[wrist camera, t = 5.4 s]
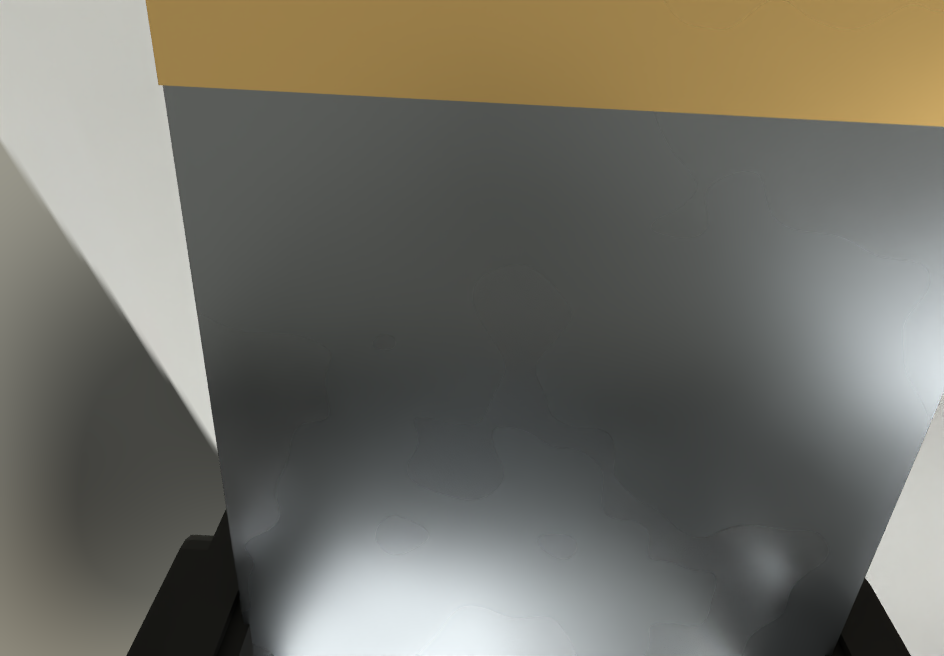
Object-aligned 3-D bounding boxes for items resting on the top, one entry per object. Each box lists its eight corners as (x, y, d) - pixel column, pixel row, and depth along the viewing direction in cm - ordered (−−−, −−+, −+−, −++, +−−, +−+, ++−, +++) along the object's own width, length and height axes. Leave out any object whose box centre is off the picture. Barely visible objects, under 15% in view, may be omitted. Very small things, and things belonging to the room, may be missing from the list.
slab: (633, 810, 15) (670, 1038, 12) (340, 796, 15) (301, 1020, 12) (875, -74, 7) (1148, -71, 4) (279, -105, 7) (126, -125, 4)
